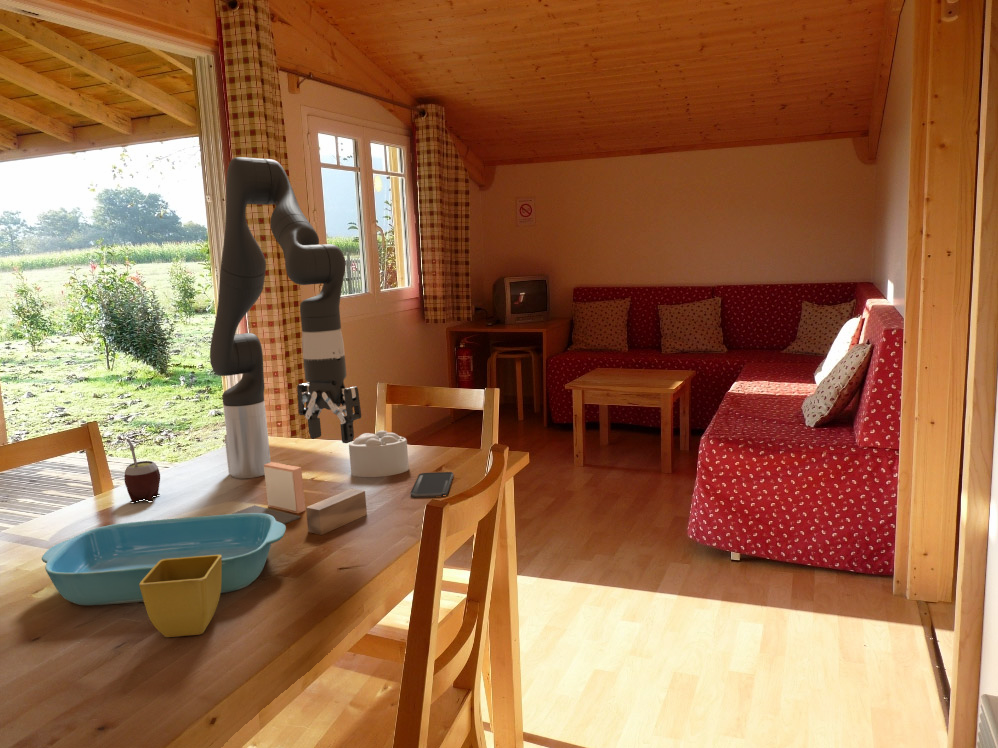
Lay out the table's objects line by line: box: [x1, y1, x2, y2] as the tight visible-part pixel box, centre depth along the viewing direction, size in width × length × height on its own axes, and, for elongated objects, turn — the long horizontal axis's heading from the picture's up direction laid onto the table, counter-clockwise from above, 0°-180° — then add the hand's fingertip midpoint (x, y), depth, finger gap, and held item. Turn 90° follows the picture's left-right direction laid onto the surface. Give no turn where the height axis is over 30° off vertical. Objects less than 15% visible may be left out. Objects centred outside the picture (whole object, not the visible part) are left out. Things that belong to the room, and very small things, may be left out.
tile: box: [264, 461, 306, 514], centre depth 157 cm, size 9×2×9 cm, turn 55°
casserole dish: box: [41, 513, 287, 606], centre depth 126 cm, size 37×22×7 cm, turn 99°
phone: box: [409, 471, 454, 499], centre depth 168 cm, size 8×1×15 cm
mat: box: [231, 504, 301, 525], centre depth 153 cm, size 14×8×1 cm, turn 55°
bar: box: [305, 488, 368, 536], centre depth 148 cm, size 4×12×5 cm, turn 146°
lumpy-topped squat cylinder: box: [348, 429, 410, 478], centre depth 181 cm, size 10×13×9 cm
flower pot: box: [139, 555, 222, 638], centre depth 108 cm, size 9×9×9 cm
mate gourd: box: [124, 438, 161, 502], centre depth 167 cm, size 8×8×15 cm
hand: (331, 439), depth 146 cm, fingers open, 8 cm apart
